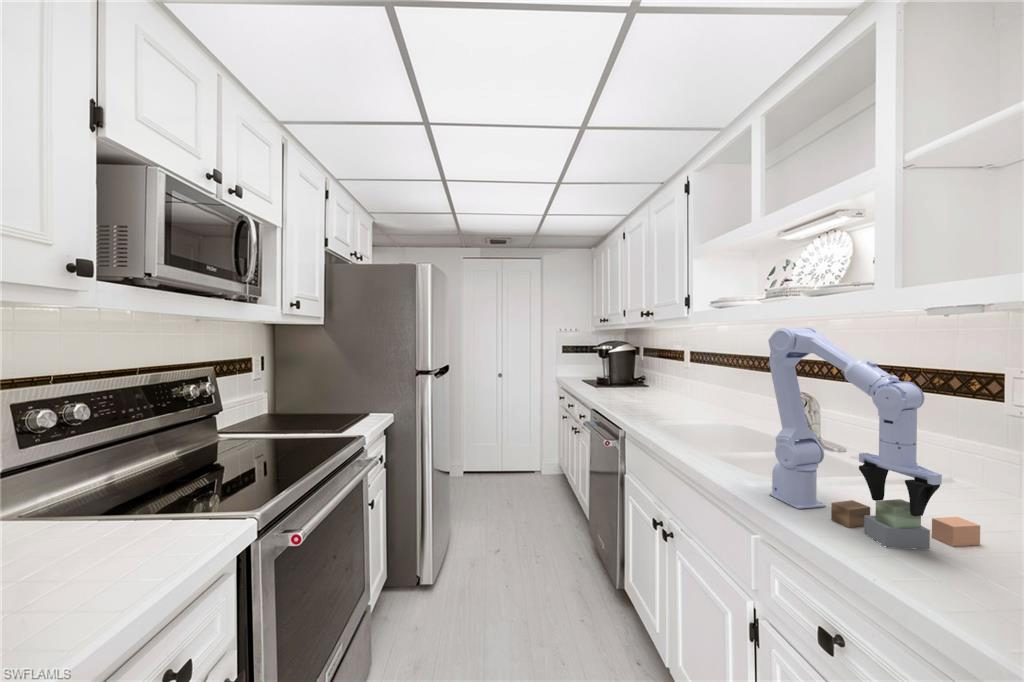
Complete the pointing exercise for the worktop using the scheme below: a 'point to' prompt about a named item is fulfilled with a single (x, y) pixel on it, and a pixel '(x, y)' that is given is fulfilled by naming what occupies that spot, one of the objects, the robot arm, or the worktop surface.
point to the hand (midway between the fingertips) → (896, 507)
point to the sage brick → (896, 514)
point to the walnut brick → (849, 513)
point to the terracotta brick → (956, 531)
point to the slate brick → (897, 534)
